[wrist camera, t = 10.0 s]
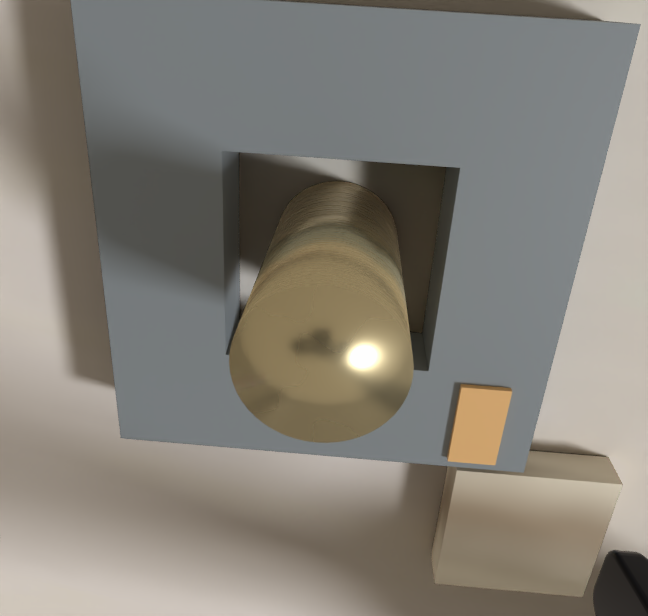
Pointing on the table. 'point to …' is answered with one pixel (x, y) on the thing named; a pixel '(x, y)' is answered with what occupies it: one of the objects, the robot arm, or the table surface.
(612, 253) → the table surface
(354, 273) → the brass peg
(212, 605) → the table surface
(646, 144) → the table surface
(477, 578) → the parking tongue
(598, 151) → the hole plate
